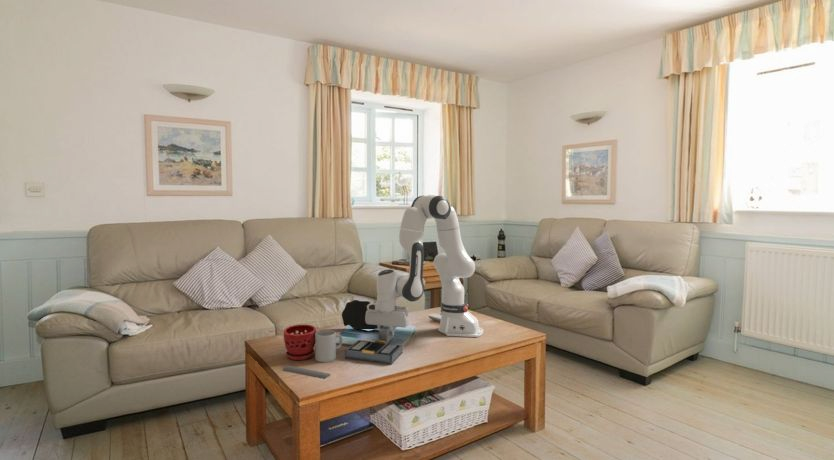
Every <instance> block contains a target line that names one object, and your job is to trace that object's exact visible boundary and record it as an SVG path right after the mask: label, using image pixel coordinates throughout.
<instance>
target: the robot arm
mask: <svg viewBox="0 0 834 460" xmlns="http://www.w3.org/2000/svg"><path fill="white" fill-rule="evenodd" d="M404 210H405V211H404V213H403V216H402V220H401V222H400V227H399V228H400V229H399V237H398V239H399V244H400V246H401V247H402V248H403V249H404V250H405V251H406V253H407V254H408V258H409V266H408V267H409V268H408V269H409V270H408V275H405V274H401V273H398V272H396V271H395V270H394V269H384V270H383V269H382V270H381V271H379V272H378V273H377V277H376V293H377V297H376V300H375V301H372V302H371V301H370V302H371V303H370V304H368V305H367V309H368V310H367V311H366V315H365V322H366V323H367V324H371V325H377V328H378V330H379V329H381V326H392V329H393V330H392V331H391V332H390V335H391V336H394V335H395V331H396V329H397V328H407V326H409V324H410V323H409V310H408V308H407V307H406V306H400V305H397V297H398V296H400V297H402V298H403V299H405V300H407V301H408V302H416V301H418V300H420V299H421V298H422V297H423V295H424V291H425V285H424V280H423V279H424V277H423V275H424V261H425V260H424V257H425V250H424V249H425V248H424V243H423V242H424V231H425V224H426V222H427V220H428V219H431V220H432V219H434V221H435V224H436V234H437V238H438V244H439V246H440V247H441V248H442V250H443V251H444V252H441V253H439V254H436V255H435V257H434V259H433V267H434V268H435V270H436V271H437V274H438V276H439V280H440V283H441V302H440V303H441V305H440V314H441V315H440V316H441V317H440V322H439V326H438V332H440V333H442V334H444V335H445V336H447V337H464V338H467V337H468V338H479V337H481V336H482V335H483V334H484V328H482V327H480V324H479V320H478V318H477V317H476V316H475V315H474V314H472V313H471V312H470V311H469V303H465V287H464V284H462V283H461V280H460V279H466V278H470V277H472V276H473V275H474V273H475V271H476V263H475V261H474V259H473V258H471V257H470V255H469V254H468V252H467V250H466V248H465V246H464V244H463V241H462V240H463V239H462V235H461V230H460V224H459V219H458V215H457V211H456V209H455V208H454V207H453V206H451V204H450V202H449V200H448V199H447V198H446V197H444V196H442V195H433V194H428V195H420V196H417V197H416V198H414V200H413V201H412V204H411V205H410V207H407V208H406V209H404ZM394 337H395V336H394Z"/></svg>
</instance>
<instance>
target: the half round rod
mask: <svg viewBox="0 0 834 460" xmlns="http://www.w3.org/2000/svg"><path fill="white" fill-rule="evenodd" d="M283 372H287V373H291V374H293V373H294V374H298V375H303V376H307V377H312V378H317V377H318V379H322V378H323V379H322V380H325V379H327V378H329V377H330V376H331V373H329V372H322V371H319V370H313V369H309V368H308V369H307V368H303V367H297V366H293V365H285V366H284V367H283Z"/></svg>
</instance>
